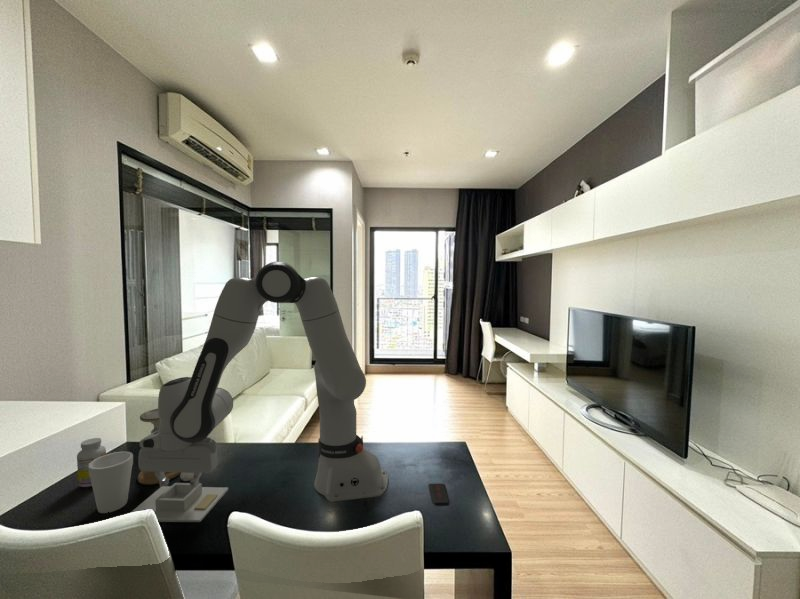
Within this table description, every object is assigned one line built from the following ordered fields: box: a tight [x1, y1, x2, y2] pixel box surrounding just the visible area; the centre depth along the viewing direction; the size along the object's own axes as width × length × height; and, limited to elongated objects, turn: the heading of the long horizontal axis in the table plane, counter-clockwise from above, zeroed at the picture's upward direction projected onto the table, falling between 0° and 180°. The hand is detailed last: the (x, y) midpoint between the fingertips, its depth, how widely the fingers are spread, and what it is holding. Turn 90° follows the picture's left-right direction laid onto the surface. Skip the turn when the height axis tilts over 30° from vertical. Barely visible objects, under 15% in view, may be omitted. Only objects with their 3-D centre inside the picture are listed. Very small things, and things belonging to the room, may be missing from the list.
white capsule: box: [179, 472, 195, 482], centre depth 111 cm, size 4×4×9 cm
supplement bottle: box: [76, 437, 107, 488], centre depth 106 cm, size 7×7×13 cm
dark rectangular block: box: [428, 483, 450, 506], centre depth 98 cm, size 5×12×3 cm, turn 2°
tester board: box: [131, 482, 229, 523], centre depth 95 cm, size 20×14×4 cm
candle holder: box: [137, 408, 181, 485], centre depth 110 cm, size 12×12×20 cm
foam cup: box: [89, 451, 134, 514], centre depth 95 cm, size 10×9×13 cm
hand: (179, 485), depth 95 cm, fingers open, 7 cm apart
